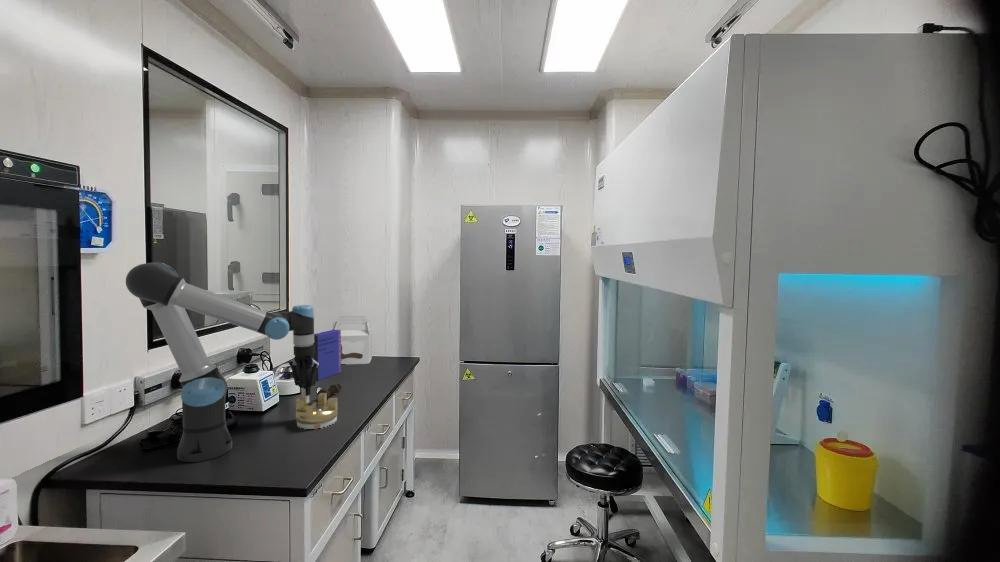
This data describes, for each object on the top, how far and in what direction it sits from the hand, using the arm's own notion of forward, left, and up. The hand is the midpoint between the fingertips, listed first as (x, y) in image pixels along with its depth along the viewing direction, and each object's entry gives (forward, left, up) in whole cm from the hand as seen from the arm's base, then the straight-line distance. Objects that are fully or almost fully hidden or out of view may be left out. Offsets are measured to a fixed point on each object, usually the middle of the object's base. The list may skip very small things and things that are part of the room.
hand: (305, 403), depth 171 cm
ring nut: (+1, -6, -4) cm, 8 cm away
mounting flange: (+1, -6, -7) cm, 9 cm away
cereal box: (+42, +47, -7) cm, 64 cm away
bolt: (+24, +17, -7) cm, 30 cm away
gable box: (+70, +62, -7) cm, 94 cm away
